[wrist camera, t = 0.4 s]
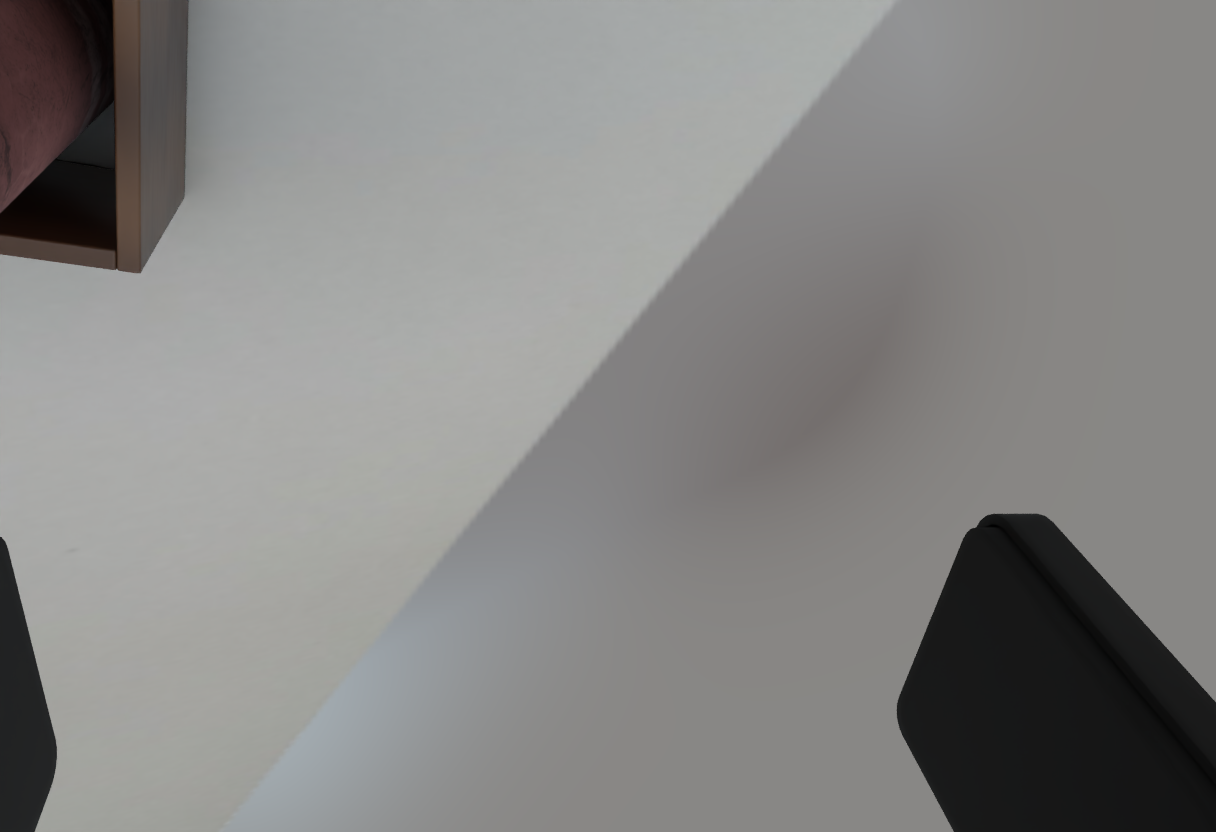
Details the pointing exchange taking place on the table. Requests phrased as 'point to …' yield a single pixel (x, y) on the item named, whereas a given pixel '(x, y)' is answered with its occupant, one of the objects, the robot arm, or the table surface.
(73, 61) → the can
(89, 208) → the holder
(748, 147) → the table surface
